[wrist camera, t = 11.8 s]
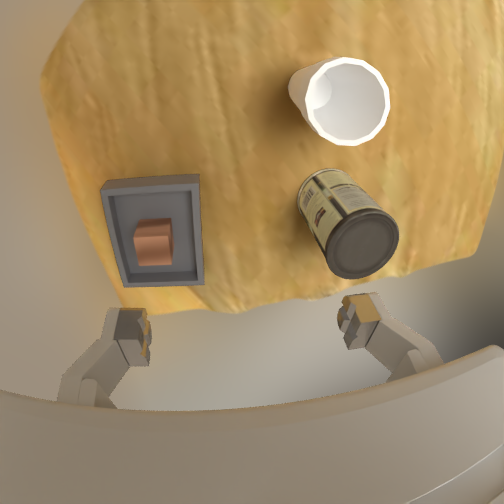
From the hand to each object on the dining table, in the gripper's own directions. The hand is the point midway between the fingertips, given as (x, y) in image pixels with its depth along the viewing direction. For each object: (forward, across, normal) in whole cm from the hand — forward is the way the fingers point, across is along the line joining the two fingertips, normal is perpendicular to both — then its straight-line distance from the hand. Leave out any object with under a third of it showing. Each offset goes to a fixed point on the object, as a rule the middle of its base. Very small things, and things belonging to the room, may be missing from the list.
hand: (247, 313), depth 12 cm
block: (+31, +10, +16) cm, 37 cm away
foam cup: (+33, -12, -6) cm, 36 cm away
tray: (+32, +10, +16) cm, 37 cm away
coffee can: (+33, -17, +11) cm, 39 cm away
